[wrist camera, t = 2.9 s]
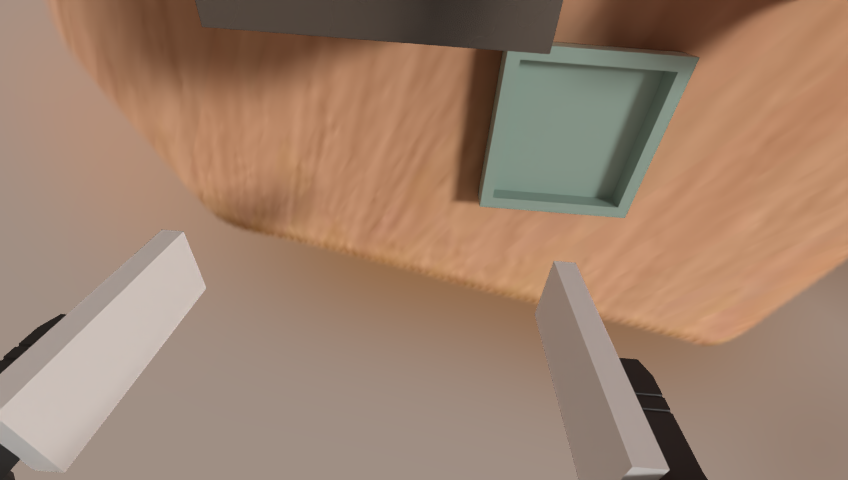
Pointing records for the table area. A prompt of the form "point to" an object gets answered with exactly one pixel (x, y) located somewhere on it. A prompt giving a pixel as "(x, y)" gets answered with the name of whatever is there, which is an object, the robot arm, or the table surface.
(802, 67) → the table surface
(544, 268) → the table surface
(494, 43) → the grey lidded bin
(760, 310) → the table surface
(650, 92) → the tray
